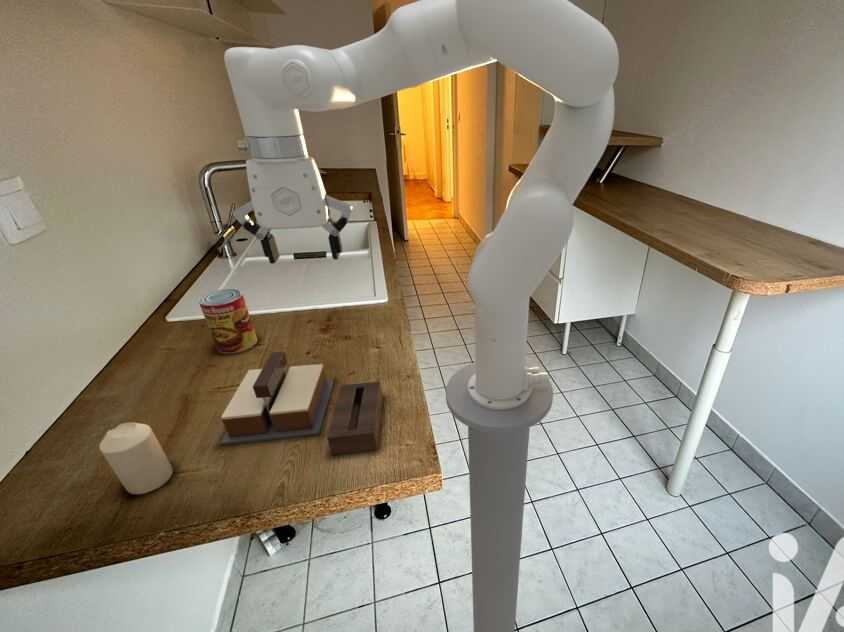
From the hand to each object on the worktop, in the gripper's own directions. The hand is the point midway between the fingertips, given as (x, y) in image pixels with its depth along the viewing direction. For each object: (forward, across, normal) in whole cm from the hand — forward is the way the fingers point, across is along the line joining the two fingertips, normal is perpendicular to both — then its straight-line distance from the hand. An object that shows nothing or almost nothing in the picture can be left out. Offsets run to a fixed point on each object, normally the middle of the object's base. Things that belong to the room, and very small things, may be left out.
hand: (306, 258), depth 69 cm
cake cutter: (+26, -9, -6) cm, 28 cm away
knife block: (+27, +5, -13) cm, 30 cm away
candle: (+26, -24, -19) cm, 40 cm away
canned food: (+26, -24, +19) cm, 40 cm away
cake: (+26, -8, -6) cm, 28 cm away
